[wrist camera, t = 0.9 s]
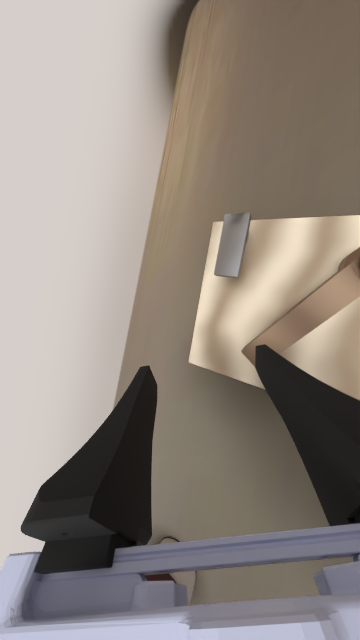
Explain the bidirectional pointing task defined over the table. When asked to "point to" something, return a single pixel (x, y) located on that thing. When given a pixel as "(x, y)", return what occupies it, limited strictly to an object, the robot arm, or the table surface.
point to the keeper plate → (276, 296)
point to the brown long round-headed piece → (312, 309)
